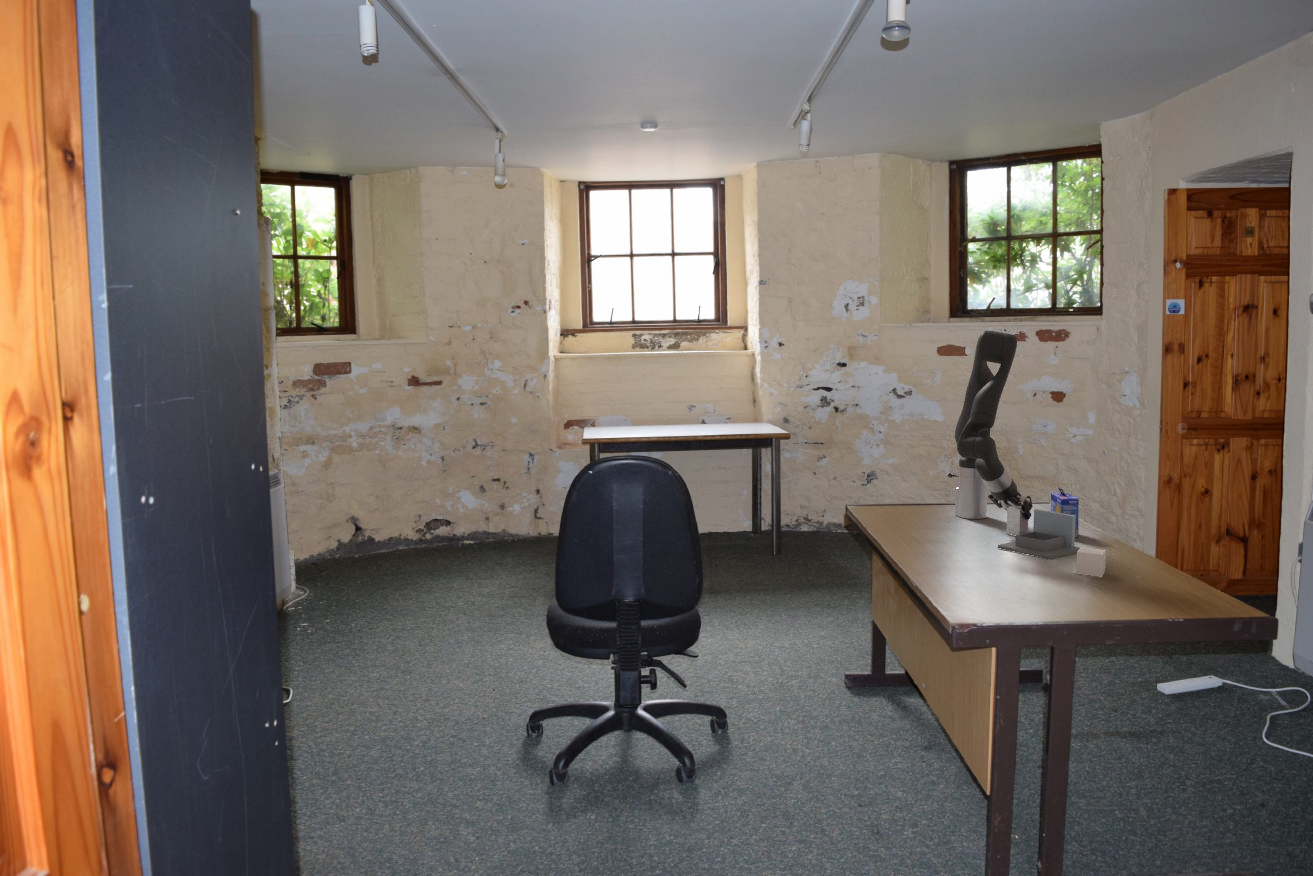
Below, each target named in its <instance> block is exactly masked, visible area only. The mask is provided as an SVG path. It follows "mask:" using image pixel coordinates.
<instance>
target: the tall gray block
mask: <svg viewBox="0 0 1313 876" xmlns="http://www.w3.org/2000/svg"><path fill="white" fill-rule="evenodd" d="M1021 508H1023V505H1022V506H1021ZM1024 533H1029V520H1026V519H1025V517H1024V516H1023V514H1022V513H1021V512H1020V511H1019V510H1018V509H1015V508H1014V507H1013V506H1012V505H1007V511H1006V534H1005V535H1007V534H1012V535H1020V534H1024ZM1012 535H1011V536H1012Z"/></svg>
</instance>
